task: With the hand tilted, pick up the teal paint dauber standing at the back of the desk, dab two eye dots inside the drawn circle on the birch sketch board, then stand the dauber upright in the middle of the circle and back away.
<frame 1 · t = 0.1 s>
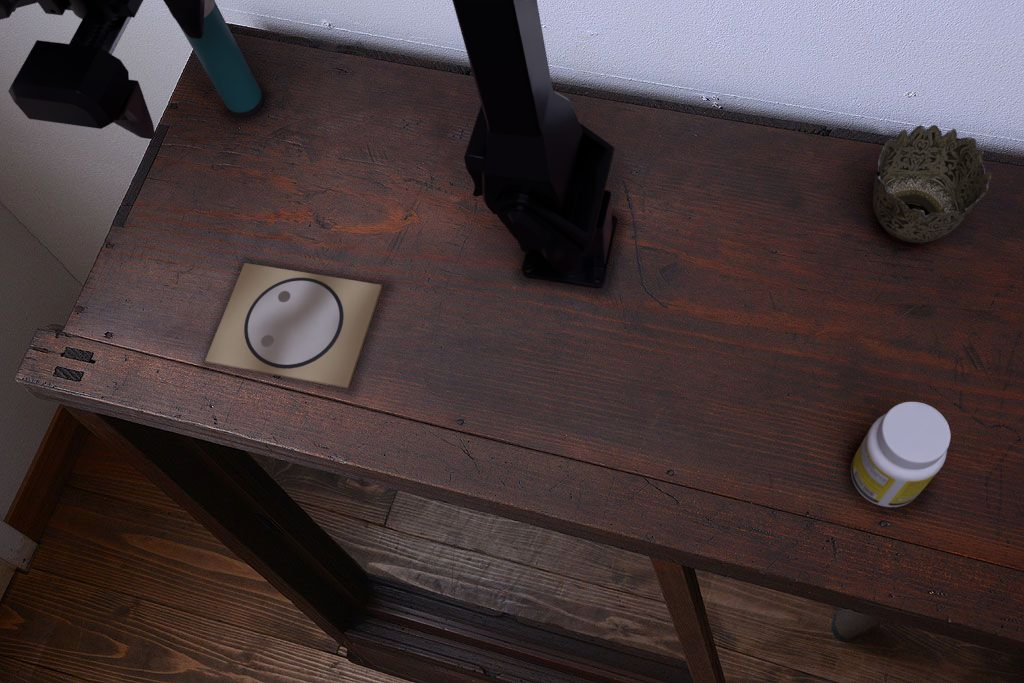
hand: (172, 85, 70), 15 cm above the table, tool pointing down, fingers open, 9 cm apart
paint dauber: (246, 103, 88), on the table
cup: (905, 230, 75), on the table
supplement bottle: (884, 475, 67), on the table
sketch board: (295, 324, 77), on the table
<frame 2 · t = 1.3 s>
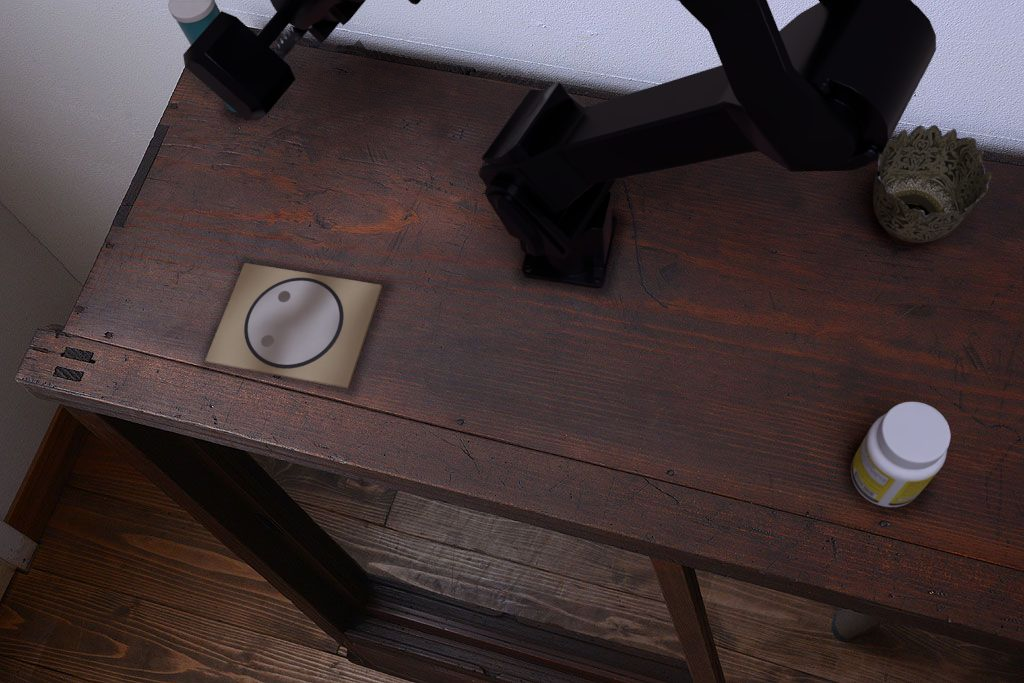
hand: (266, 28, 73), 13 cm above the table, tool tilted 45°, fingers open, 9 cm apart
nothing on the table moved.
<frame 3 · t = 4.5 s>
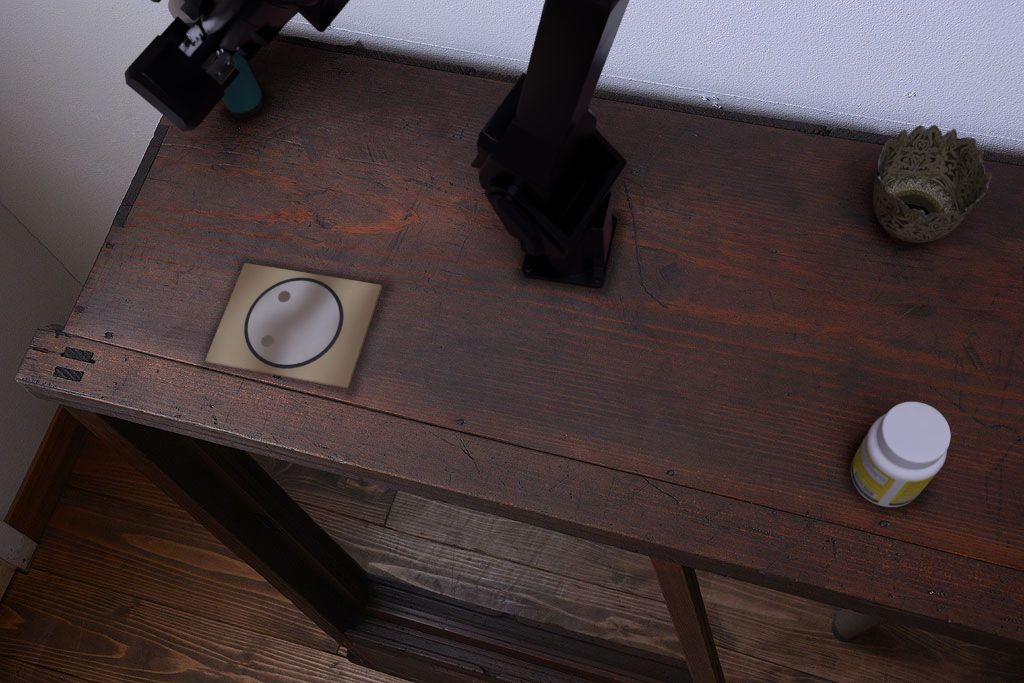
hand: (206, 46, 82), 7 cm above the table, tool tilted 45°, fingers closed on paint dauber, 3 cm apart
paint dauber: (246, 103, 88), on the table, touching gripper
everything else where it was.
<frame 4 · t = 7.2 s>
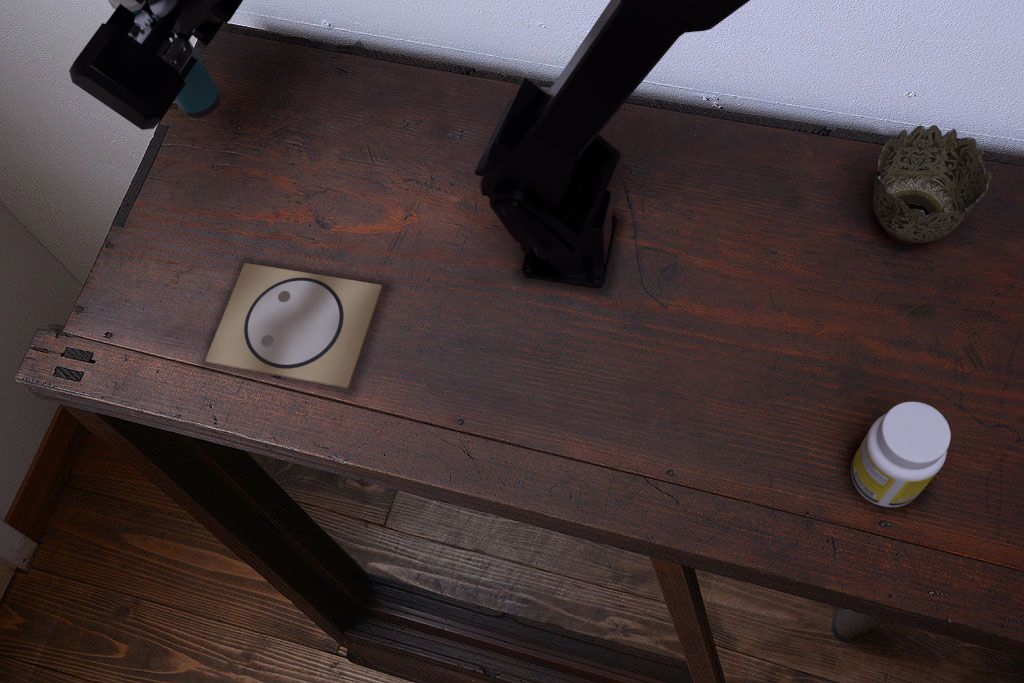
hand: (151, 41, 74), 13 cm above the table, tool tilted 45°, fingers closed on paint dauber, 3 cm apart
paint dauber: (201, 102, 79), point 7 cm above the table, touching gripper
everything else where it was.
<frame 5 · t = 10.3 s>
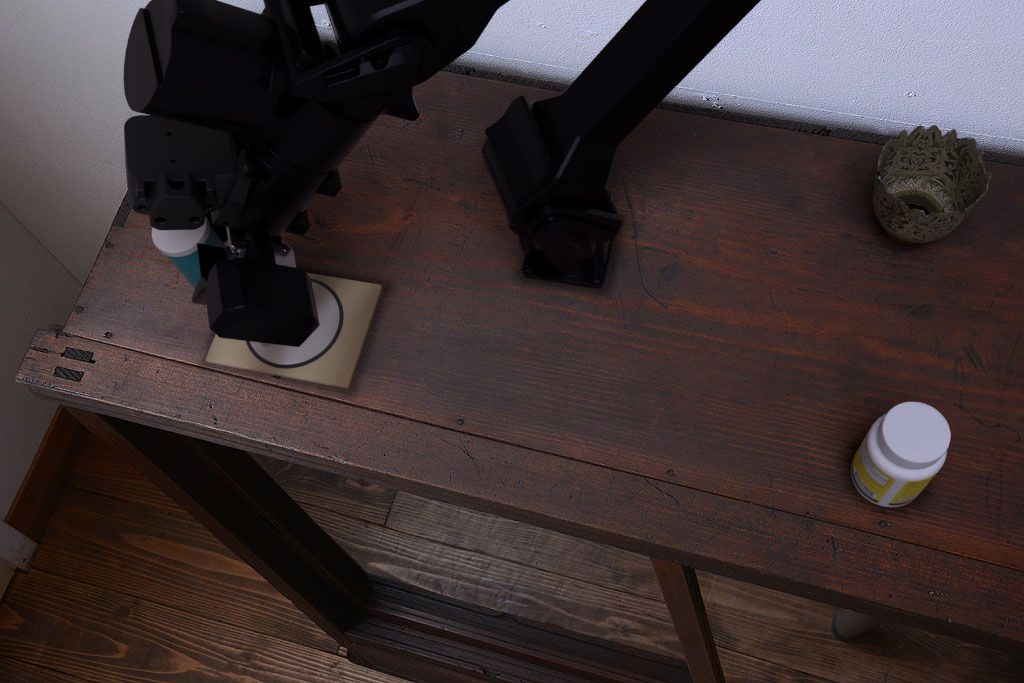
hand: (196, 279, 66), 11 cm above the table, tool tilted 45°, fingers closed on paint dauber, 3 cm apart
paint dauber: (249, 317, 72), point 5 cm above the table, touching gripper
everything else where it was.
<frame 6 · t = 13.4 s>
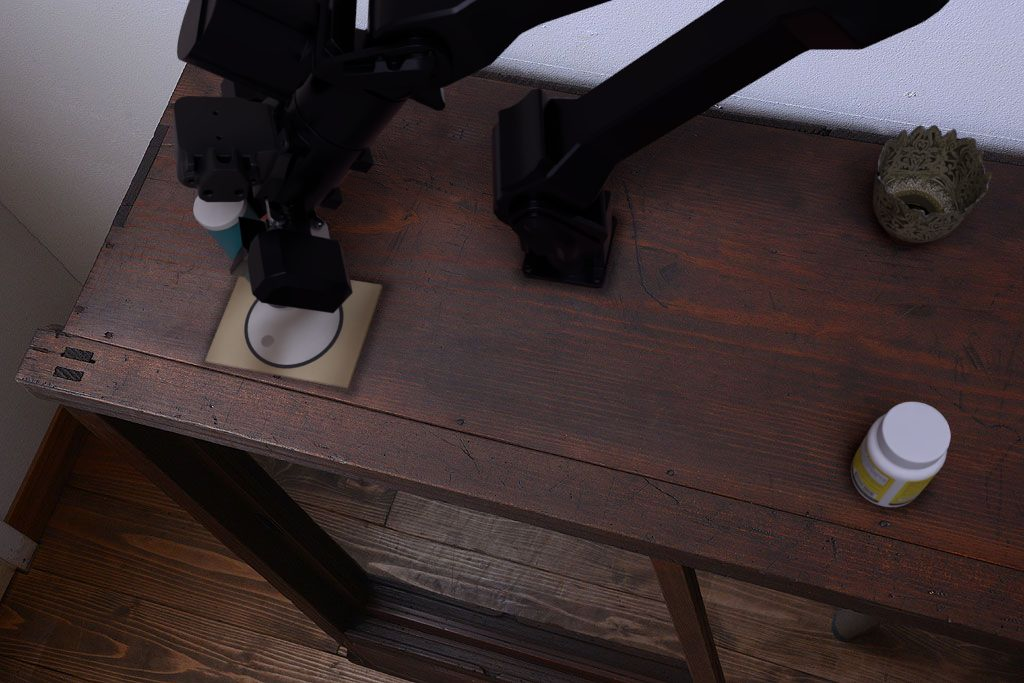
hand: (233, 253, 71), 8 cm above the table, tool tilted 45°, fingers closed on paint dauber, 3 cm apart
paint dauber: (283, 290, 77), point 2 cm above the table, touching gripper
everything else where it was.
when the fingers open (7 cm above the table, at t = 16.1 s): paint dauber stays where it is, resting on sketch board.
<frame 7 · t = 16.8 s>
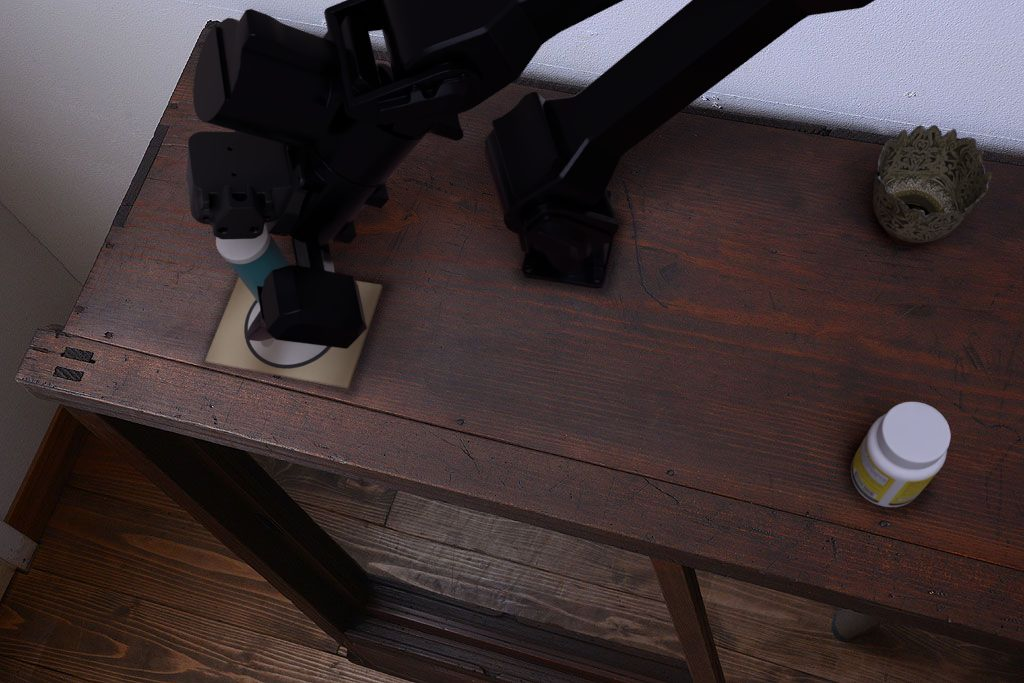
hand: (244, 284, 70), 7 cm above the table, tool tilted 45°, fingers open, 9 cm apart
paint dauber: (298, 320, 76), point 1 cm above the table, touching sketch board
everything else where it was.
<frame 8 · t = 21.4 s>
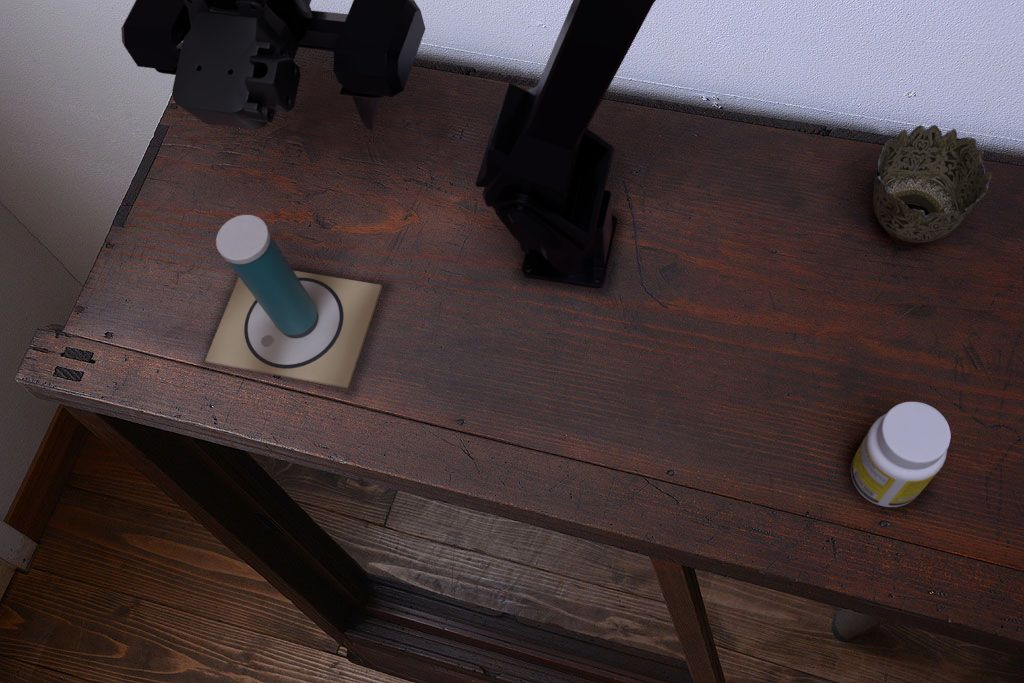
hand: (311, 117, 69), 13 cm above the table, tool pointing down, fingers open, 9 cm apart
nothing on the table moved.
at the end: paint dauber 0.4 cm off-centre on the sketch board, point 0.5 cm above the sketch board's base; paint dauber tilted 0°; the gripper is holding nothing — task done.
